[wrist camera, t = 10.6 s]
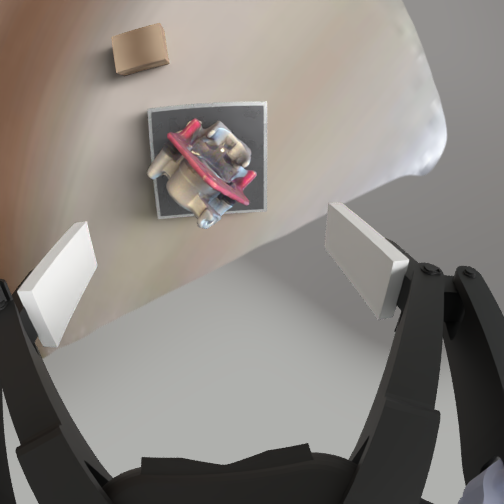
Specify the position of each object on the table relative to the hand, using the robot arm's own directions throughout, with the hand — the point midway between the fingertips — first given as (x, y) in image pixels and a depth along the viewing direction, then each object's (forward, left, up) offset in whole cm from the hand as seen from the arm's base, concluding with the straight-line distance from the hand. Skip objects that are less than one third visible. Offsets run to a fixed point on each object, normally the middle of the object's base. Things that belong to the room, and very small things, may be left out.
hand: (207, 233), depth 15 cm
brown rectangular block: (-8, +15, -25) cm, 31 cm away
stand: (0, 0, -25) cm, 25 cm away
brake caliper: (0, 0, -21) cm, 21 cm away
